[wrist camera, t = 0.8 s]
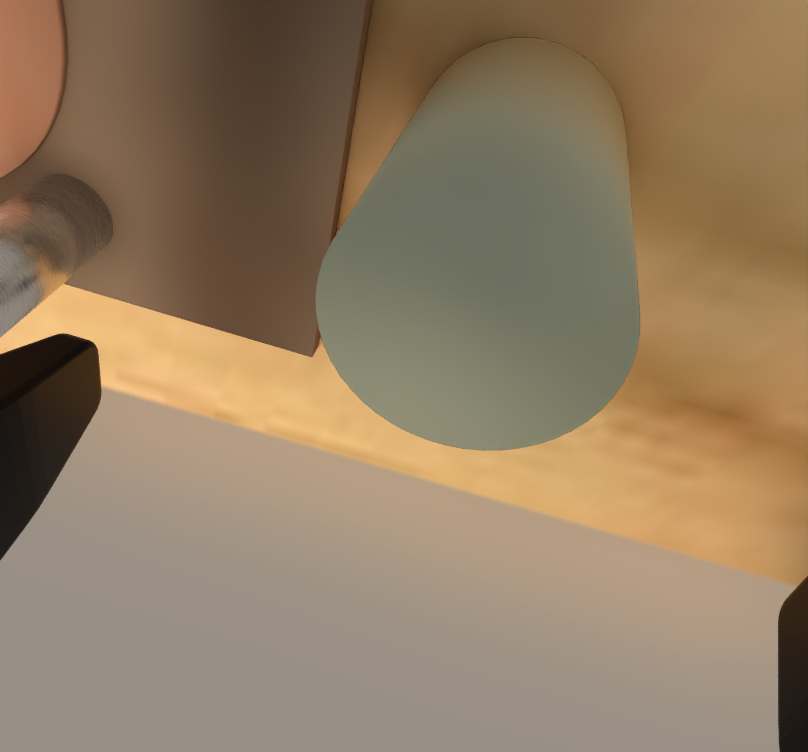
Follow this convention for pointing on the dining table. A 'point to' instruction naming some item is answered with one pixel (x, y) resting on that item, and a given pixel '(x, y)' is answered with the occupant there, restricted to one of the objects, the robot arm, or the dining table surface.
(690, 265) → the dining table surface
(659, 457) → the dining table surface
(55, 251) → the steel post
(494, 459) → the dining table surface
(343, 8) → the course board
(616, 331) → the sage cylinder
